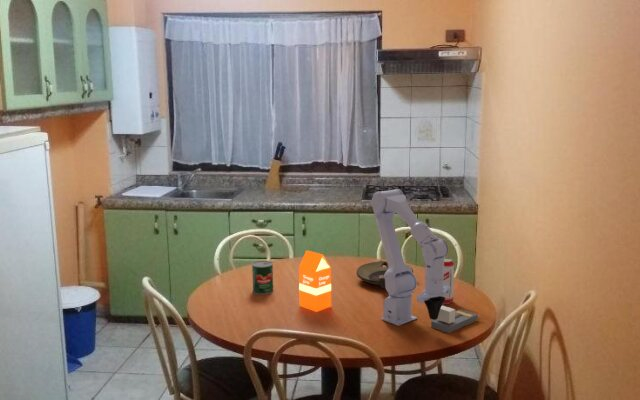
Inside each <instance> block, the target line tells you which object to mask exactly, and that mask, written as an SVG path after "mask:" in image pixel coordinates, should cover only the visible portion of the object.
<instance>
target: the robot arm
mask: <svg viewBox="0 0 640 400" xmlns="http://www.w3.org/2000/svg"><path fill="white" fill-rule="evenodd" d="M370 203H371V206H372V207H371V208H372V211H373V214H374V218H375V222H376V226H377V230H378V233H379V237H380V239H381V240H380V241H381V243H382V244H381V245H382V247H383V248H382V249H383V252H384V256H385V259H386V261H387V263H388V266H389V268H388V270H387V271H386V273H385V274H384V277H385V287H386V288H385V290H386V291H387V293H388V297H386V298H385V299H384V300H383V303H382V304H383V305H382V307H383V308H382V309H383V311H382V312H383V313H382V317H381V318H380V319H381V320H382V321H385V322H387V323H389V324H393V325H395V326H397V327H398V326H399V327H400V326H402V325H405V324H407V323H410V322H412V321H414V320H417V318H418V317H417V316H414V315H412V294H413V293H414V290H416V288H417V286H418V280H417V276H416V275H415V274H414V271H413V272H412V269H413V268H412V267H411V268H412V269H411V268H410V267H409V266H410V265H408V264H406V263H405V262H404V257H403V254H402V253H403V252H402V250H401V247H400V243H399V240H398V235H397V232H396V229H395V226H394V222H393V219H394V216H395V215H396V214H397V215H398V216H399V217H400V218H401V219H402V220H403V221H404V223H405V224H406V225H408V227H409V228H410V235H411V236H412V237H413V238H414V240H415V241H416V242H417V244H418V246H420V247H421V254H422V257H423V261H424V265H425V268H424V269H425V272H424V273H425V275H424V290H423V291H422V292H421V293H420V294H418V295H416V302H418V303H420V304H423V303H424V304H425V307H426V308H427V309H426V310H427V313H428V315H429V319H430V320H432V321H433V320H436V319H437V318H438V315H439V311H440V308H441V306H443V305H444V304H443V302H444V301H445V297H443V296H446V293H450V290H451V287H449V286H443V283H444V258H446V257H447V255H448V254H449V245H448V243H447V242H446V239H443V238H439V236H436V235H435V234H434V232H433V231H432V230H431V228H430V227H429V225H428V224H427V223H426V222H424V221H423V222H422V221H420V220H419V219H418V217H417V216H416V215H415V213H414V212H413V210H412V209H411V208H410V206H409V204H408V203H407V195H405V194H404V192H403V191H402V190H401V189H399V188H394V189H391V190H390V189H389V190H384V191H376V192H374V194H373V195H372V198H371V201H370ZM407 265H408V266H407ZM398 273H401V274H400V275H396V274H398ZM395 275H396V276H395Z"/></svg>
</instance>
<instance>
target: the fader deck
mask: <svg viewBox="0 0 640 400" xmlns="http://www.w3.org/2000/svg"><path fill="white" fill-rule="evenodd" d="M478 319H479V315H478V314H477V313H474V312H471V311H468V310H465V309H462V308H460V309H457V310H455V321H454V322H452V323H446V322H443V321H440V320H437V319H436V320H433V319H432V320H431V322H430V325H431V326H430V327H431V328H433V329H436V330H439V331H441V332H444V333H447V334H450V333H452V332H454V331H456V330H460V329H461V328H463V327H465V326H468V325H469V324H473V323H475V322H476V321H478Z"/></svg>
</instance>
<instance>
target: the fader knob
mask: <svg viewBox="0 0 640 400" xmlns="http://www.w3.org/2000/svg"><path fill="white" fill-rule="evenodd" d="M455 311H456V309H454V308H452V307H448V306H445V305H442V306H441V308H440V311H439V315H438V318H437V320H440V321H443V322H446V323H452V322H454V321H455Z"/></svg>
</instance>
